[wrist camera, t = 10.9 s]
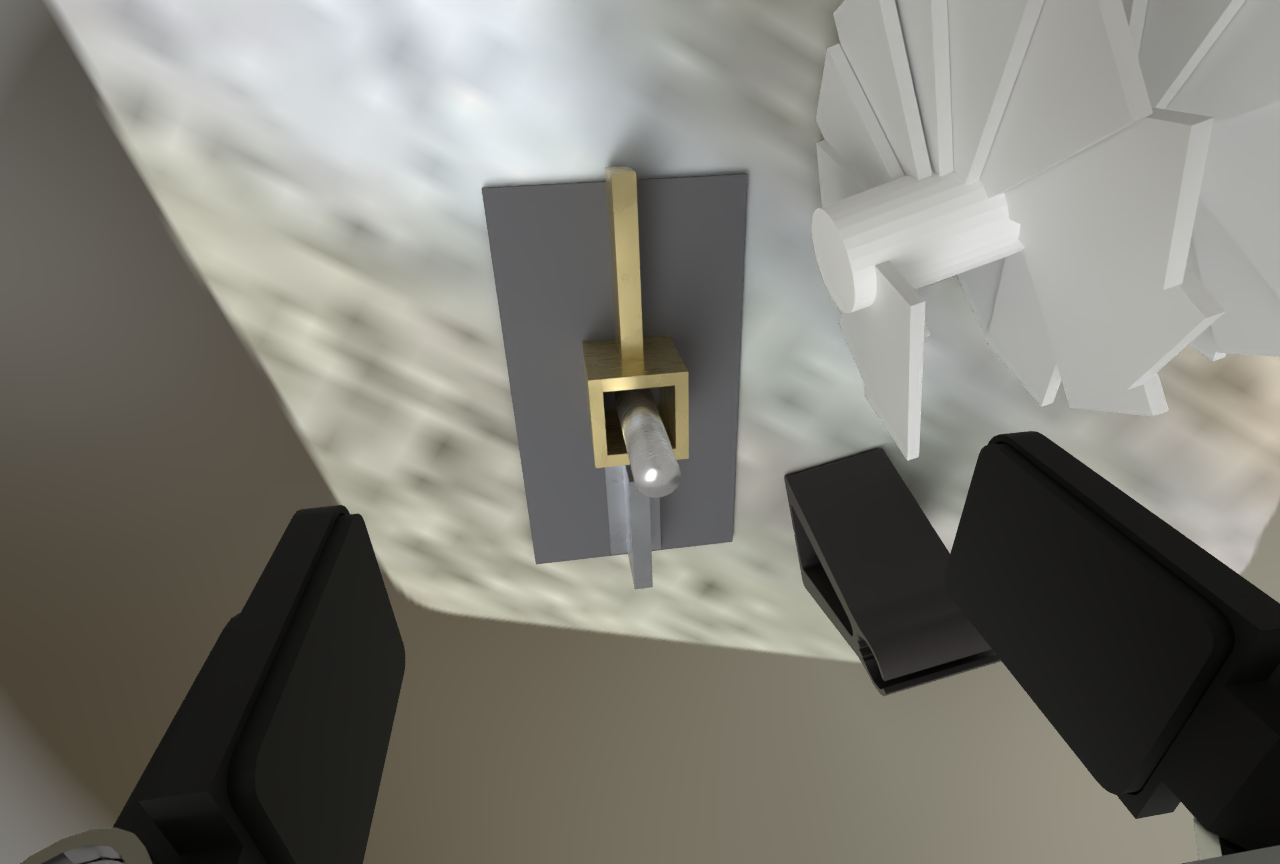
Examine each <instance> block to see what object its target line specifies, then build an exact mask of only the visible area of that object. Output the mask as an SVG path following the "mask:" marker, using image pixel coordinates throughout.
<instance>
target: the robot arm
mask: <svg viewBox="0 0 1280 864" xmlns="http://www.w3.org/2000/svg"><path fill="white" fill-rule="evenodd" d="M945 585H946V588H947V591H948V593H949V595H950V596H951V598H952V599H953V600H954V602H955V603H956V604H957V605H958V607H959V608H960V609H961V610H962V612H963V613H964V614H965V616H966V617H967V618H968V619H969V621H970V622H971V623H972V624H973V626H974V627H975V628H976V629H977V631H978V632H979V633H980V634H981V636H982V637H983V638H984V639H985V641H986V642H987V643H988V645H989V646H990V647H991V648H992V650H993V651H994V652H995V653H996V655H997V656H998V657H999V658H1000V660H1001V661H1002V662H1003V663H1004V665H1005V666H1006V667H1007V668H1008V670H1009V671H1010V672H1011V674H1012V675H1013V676H1014V677H1015V678H1016V680H1017V681H1018V682H1019V684H1020V685H1021V686H1022V687H1023V689H1024V690H1025V691H1026V692H1027V694H1028V695H1029V696H1030V697H1031V699H1032V700H1033V701H1034V703H1036V705H1037V706H1038V708H1039V709H1040V710H1041V711H1042V713H1043V714H1044V715H1045V716H1046V718H1047V719H1048V720H1049V721H1050V723H1051V724H1052V725H1053V726H1054V727H1055V729H1056V730H1057V731H1058V733H1059V734H1060V735H1061V736H1062V738H1063V739H1064V740H1065V742H1066V743H1067V744H1068V745H1069V747H1070V748H1071V749H1072V750H1073V751H1074V753H1075V754H1076V755H1077V757H1078V758H1079V759H1080V760H1081V762H1082V763H1083V764H1084V765H1085V767H1086V768H1087V769H1088V771H1089V772H1090V773H1091V774H1092V776H1093V777H1094V778H1095V779H1096V781H1097V782H1098V783H1099V784H1100V785H1101V786H1102V787H1103V788H1104V789H1106V790H1107V791H1108V792H1110V793H1113V794H1115V795H1117V796H1118V797H1119V799H1120V800H1121V801H1122V802H1123V804H1124V805H1125V806H1126V807H1127V809H1128V810H1129V811H1130V812H1131V814H1132V815H1133V816H1134V817H1135V819H1138V818H1143V817H1149V816H1153V815H1160V814H1165V813H1170V812H1173V811H1174V810H1175V809H1176V807H1177V806H1178V804H1179V803H1180V802H1182V803H1183V804H1184V805H1185V807H1186V808H1187V809H1188V810H1189V811H1190V812H1191V813H1192V814H1193V816H1194V819H1193V820H1194V828H1195V835H1196V843H1197V851H1198V858H1199V860H1198V861H1193V862H1188V863H1183V864H1280V604H1279V603H1278V602H1277V601H1275V600H1274V599H1272V598H1271V597H1270V596H1268V595H1267V594H1265V593H1264V592H1263V591H1261V590H1260V589H1258V588H1257V587H1256V586H1254V585H1253V584H1251V583H1250V582H1249V581H1247V580H1246V579H1244V578H1243V577H1241V576H1240V575H1239V574H1237V573H1236V572H1235V571H1233V570H1232V569H1230V568H1229V567H1228V566H1226V565H1225V564H1223V563H1222V562H1221V561H1219V560H1218V559H1216V558H1215V557H1214V556H1212V555H1211V554H1209V553H1208V552H1207V551H1205V550H1204V549H1202V548H1201V547H1200V546H1198V545H1197V544H1195V543H1194V542H1193V541H1191V540H1190V539H1188V538H1187V537H1186V536H1184V535H1183V534H1181V533H1180V532H1179V531H1177V530H1176V529H1174V528H1173V527H1172V526H1170V525H1169V524H1167V523H1166V522H1165V521H1163V520H1162V519H1160V518H1159V517H1158V516H1156V515H1155V514H1153V513H1152V512H1151V511H1149V510H1148V509H1146V508H1145V507H1143V506H1142V505H1141V504H1139V503H1138V502H1136V501H1135V500H1134V499H1132V498H1131V497H1129V496H1128V495H1127V494H1125V493H1124V492H1122V491H1121V490H1120V489H1118V488H1117V487H1115V486H1114V485H1113V484H1111V483H1110V482H1108V481H1107V480H1106V479H1104V478H1103V477H1101V476H1100V475H1099V474H1097V473H1096V472H1094V471H1093V470H1092V469H1090V468H1089V467H1087V466H1086V465H1085V464H1083V463H1082V462H1080V461H1079V460H1078V459H1076V458H1075V457H1073V456H1072V455H1071V454H1069V453H1068V452H1066V451H1065V450H1064V449H1062V448H1061V447H1059V446H1058V445H1057V444H1055V443H1054V442H1052V441H1051V440H1050V439H1048V438H1047V437H1045V436H1044V435H1042V434H1040V433H1038V432H1034V431H1028V432H1019V433H1009V434H1000V435H997V436H994V437H993V438H992V439H991V440H990V441H989V443H988V445H987V446H984V447H983V448H982V449H981V451H980V453H979V456H978V460H977V463H976V467H975V470H974V474H973V477H972V481H971V484H970V488H969V491H968V495H967V498H966V502H965V505H964V509H963V512H962V516H961V519H960V523H959V526H958V530H957V533H956V536H955V540H954V543H953V547H952V550H951V554H950V557H949V561H948V564H947V568H946V571H945ZM404 670H405V650H404V645H403V641H402V638H401V635H400V632H399V629H398V626H397V622H396V619H395V617H394V613H393V610H392V607H391V604H390V601H389V598H388V594H387V591H386V588H385V585H384V582H383V579H382V575H381V572H380V569H379V566H378V563H377V560H376V557H375V553H374V550H373V547H372V544H371V541H370V538H369V535H368V531H367V528H366V525H365V522H364V520H363V517H362V516H361V515H360V514H350V513H349V511H348V510H347V508H346V507H345V506H343V505H337V506H328V507H319V508H310V509H301V510H299V511H297V512H296V513H295V515H294V516H293V518H292V519H291V521H290V523H289V525H288V527H287V529H286V530H285V532H284V534H283V536H282V538H281V540H280V541H279V543H278V545H277V547H276V549H275V551H274V553H273V555H272V556H271V558H270V560H269V562H268V564H267V566H266V567H265V569H264V571H263V573H262V575H261V577H260V578H259V580H258V582H257V584H256V586H255V588H254V589H253V591H252V593H251V595H250V597H249V599H248V601H247V602H246V604H245V606H244V608H243V610H242V612H241V613H239V614H237V615H236V616H234V617H233V618H231V620H230V621H229V622H228V624H227V625H226V626H225V628H224V629H223V631H222V633H221V634H220V636H219V638H218V640H217V642H216V643H215V646H214V647H213V649H212V651H211V652H210V654H209V656H208V658H207V660H206V661H205V663H204V665H203V667H202V669H201V670H200V672H199V674H198V676H197V677H196V679H195V681H194V683H193V685H192V686H191V689H190V690H189V692H188V694H187V696H186V697H185V700H184V701H183V703H182V704H181V706H180V708H179V710H178V712H177V714H176V715H175V717H174V719H173V720H172V722H171V724H170V726H169V728H168V729H167V731H166V733H165V735H164V737H163V738H162V740H161V742H160V744H159V746H158V747H157V749H156V751H155V753H154V755H153V756H152V758H151V760H150V762H149V763H148V765H147V767H146V769H145V771H144V773H143V774H142V776H141V778H140V780H139V781H138V783H137V785H136V787H135V789H134V790H133V792H132V794H131V796H130V798H129V799H128V801H127V803H126V805H125V807H124V808H123V810H122V812H121V814H120V816H119V817H118V819H117V821H116V823H115V824H114V826H113V828H102V829H90V830H87V831H84V832H81V833H78V834H76V835H72V836H69V837H66V838H64V839H61V840H59V841H57V842H55V843H53V844H52V845H50V846H48V847H46V848H44V849H43V850H41V851H39V852H37V853H35V854H33V855H31V856H30V857H28V858H27V859H26V860H24V861H23V862H22V863H20V864H363V860H364V855H365V851H366V846H367V841H368V837H369V832H370V827H371V822H372V818H373V814H374V809H375V804H376V800H377V795H378V790H379V786H380V781H381V777H382V772H383V767H384V763H385V758H386V754H387V749H388V744H389V740H390V735H391V731H392V726H393V721H394V716H395V712H396V707H397V703H398V698H399V694H400V689H401V684H402V680H403V675H404Z"/></svg>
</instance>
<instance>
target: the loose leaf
mask: <svg viewBox="0 0 1280 864" xmlns="http://www.w3.org/2000/svg"><path fill="white" fill-rule="evenodd" d="M605 174H606V191H607V207H608V223H609V240H610V256H611V272H612V289H613V305H614V322H615V338H616V339H613V340H601V341H589V342H582V350H583V361H584V373H585V384H586V395H587V407H588V418H589V426H590V433H591V440H592V447H593V454H594V462H595V468H602V467H612V466H621V465H630V461H629V457H628V453H627V449H626V445H625V440H624V436H623V432H622V428H621V424H620V420H619V415H618V411H617V408H608V409H604V402H603V392H609V391H620V390H631V389H642V388H653V387H658V396H659V404H656V406H657V409H658V412H659V414H660V417H661V420H662V422H663V425H664V428H665V430H666V433H667V436H668V438H669V441H670V444H671V446H672V449H673V452H674V454H675V457H676V460H679V459H689V395H688V370H687V368H686V366H685V364H684V363H683V361H682V359H681V357H680V355H679V353H678V352H677V350H676V348H675V346H674V344H673V342H672V340H671V339H670V337H669V335H661V336H649V337H643V332H642V307H641V282H640V257H639V231H638V206H637V181H636V172H635V171H633V170H632V169H631V168H629V167H628V166H622V167H605Z"/></svg>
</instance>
